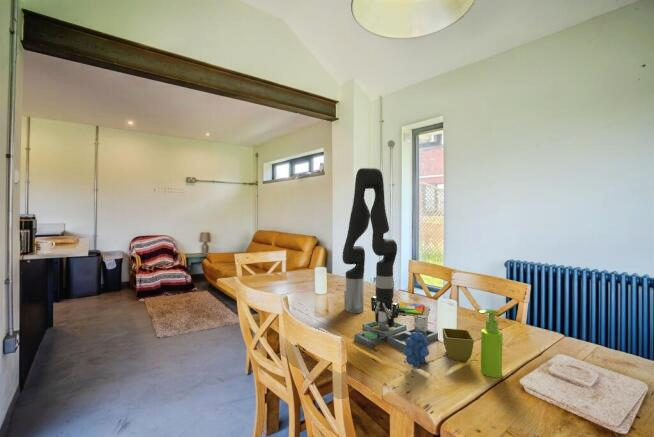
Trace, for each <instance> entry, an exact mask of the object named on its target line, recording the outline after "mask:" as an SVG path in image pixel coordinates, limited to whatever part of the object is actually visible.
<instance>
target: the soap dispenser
mask: <svg viewBox="0 0 654 437" xmlns="http://www.w3.org/2000/svg"><path fill="white" fill-rule="evenodd" d="M478 313H480V314H481V315H485V314H488V319H485V328H482V329H481V331H480V332H481V336H480V342H481V343H480V344H481V345H480V372H481V373H482V374H483V375H485V376H487V375H488V376H487V377H489V376H490V378H495V377H496V378H501V377H502V376H503V375H502V374H503V372H502V370H503V332H501V331H500V330H499V322H498V320H496V314H499V311H497V310H496V309H490V308H489V309H488V308H487V309H485V308H484V309H481V310H478Z"/></svg>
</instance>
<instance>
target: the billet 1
mask: <svg viewBox="0 0 654 437" xmlns="http://www.w3.org/2000/svg"><path fill="white" fill-rule="evenodd" d="M388 311H390V309H389V310H388ZM388 319H389V317H388V314H387V313H386V311H385V310H383V309H380V310H379V312H378V325H377V326H378V327H377V328H378V329H377V330H379V331H382V332H385V331H388V330H391V328H389V327H388Z"/></svg>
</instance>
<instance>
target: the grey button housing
mask: <svg viewBox="0 0 654 437" xmlns="http://www.w3.org/2000/svg"><path fill="white" fill-rule="evenodd" d="M367 332H373V333H376V334H377V338H375V339H373V340H369V339H367V338H365V337H364V334H365V333H367ZM353 337H354V338H353V339H354V341H355V342H357V343H359V344H361V345H363V346H365V347H366V348H369V349H373V348H376V347H377V346H379V345H382V344H384V343H388V337H389V336H385V335H383V334H380V333H378V332H376V331H374V330H371V329H370V330H364V331H362V332H359V333H358V332H357V333H355V334H354V336H353Z"/></svg>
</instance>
